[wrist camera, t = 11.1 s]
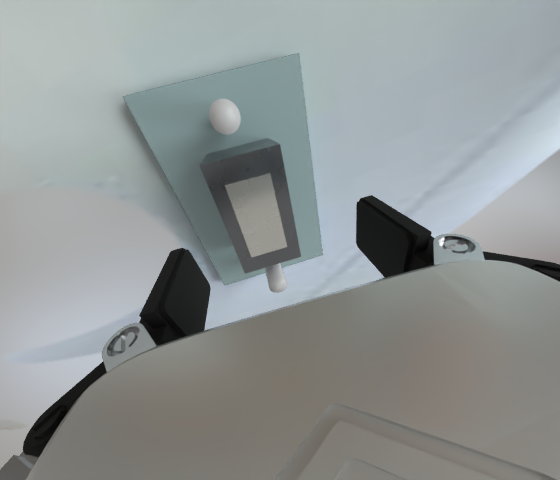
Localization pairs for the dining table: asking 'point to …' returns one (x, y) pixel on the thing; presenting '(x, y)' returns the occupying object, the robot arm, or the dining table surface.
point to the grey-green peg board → (229, 133)
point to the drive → (254, 202)
